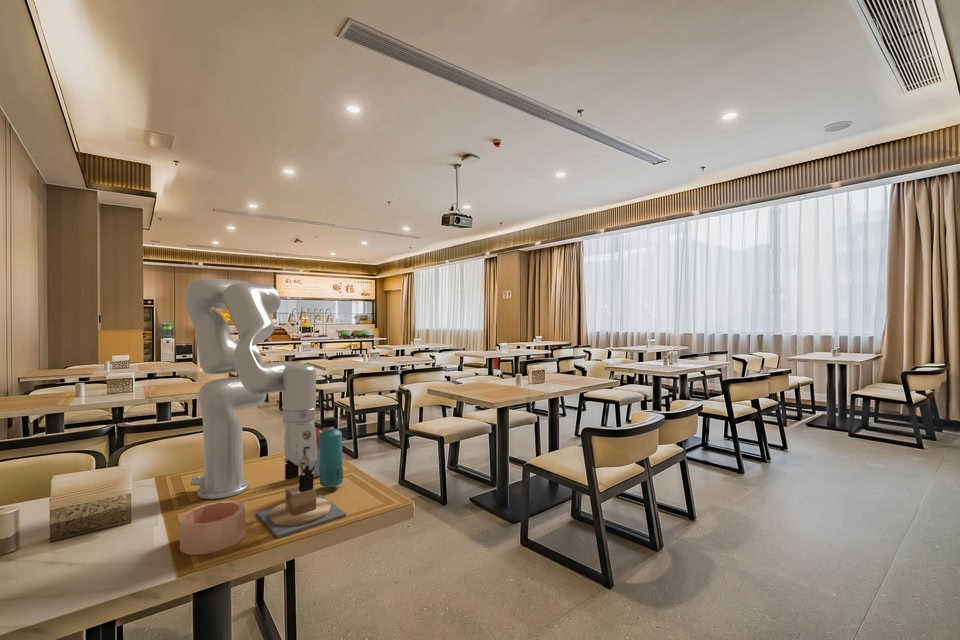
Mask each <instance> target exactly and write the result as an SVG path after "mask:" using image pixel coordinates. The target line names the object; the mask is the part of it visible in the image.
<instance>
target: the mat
mask: <svg viewBox="0 0 960 640" xmlns="http://www.w3.org/2000/svg"><path fill="white" fill-rule="evenodd" d="M316 497H317V498H323V499H326V500H328V499H327V498H326V497H325V496H323V495H321V494H316ZM328 501H329V502H330V503H331V511H330V512H329V514H327V515H326V516H325V517H323V518H322V519H320V520H317V521H315V522H312V523H308V524H304V525H299V526H279V525H275V524H273V523H271V522H270V520H269V513H270V511H271V510H272V509H273V508H274V507H275V506H274V507H270V508H267V509H263V510H260V511H256V516H257V517H258V518H259V520H260V521H261V522H262V523H263V524H264V525H265V526H266V527H267V529H268V530H270V532H271V533H272V534H273V535H274V536H275V538H277V539H280V538H283V537H285V536H289V535H292V534H295V533H298V532H301V531H304V530H307V529H310V528H311V529H312V528H313V527H316V526H317V527H318V526H320V525H323V524H326V523H329V522H332V521H335V520H338V519H342V518H345V517H347V513H346V512H344V510H342V509H341V508H340V507H338V506H337V505H336V504H334V503H333V502H331V501H330V500H328Z"/></svg>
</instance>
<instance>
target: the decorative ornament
mask: <svg viewBox="0 0 960 640" xmlns="http://www.w3.org/2000/svg"><path fill="white" fill-rule="evenodd" d="M326 429H331V427H323V426H322V429H319V428H315V430H316V442H317V461H316V462H315V464H314V466H315V468H314V473H313V478H319V475H320V469H319V468H320V465H319V464H320V463H319V457H320V453H319V434H320V433H321V432H322V431H323V430H326ZM304 461H307V460H304ZM304 461H303V462H304ZM306 466H307V465H304V466H303V468H304V469H305V467H306Z"/></svg>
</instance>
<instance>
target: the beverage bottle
mask: <svg viewBox="0 0 960 640" xmlns="http://www.w3.org/2000/svg"><path fill="white" fill-rule="evenodd" d="M337 426H339V421H338V418H337V417H326V418H323V420H322V428H323V427H330V429H326V430H323V431H322V432H321V433H320V434H319V453H320V457H319V463H320V464H319V465H320V468H319V469H320V475H319V476H318V478H319V484H320V486H321V487H323V488H333V487H334V488H335V487H337V486H340V485H342V484H343V480H344V465H343V458H344V457H343V432H342V431H341V430H340V429H338V428H333V427H337Z"/></svg>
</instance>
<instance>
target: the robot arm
mask: <svg viewBox="0 0 960 640" xmlns="http://www.w3.org/2000/svg"><path fill="white" fill-rule="evenodd" d="M184 302H185V303H184V304H185V309H186V312H187V315H188V317H189V319H190V322H191V323H192V326H193V329H194V334H195V341H196V346H197V347H196V348H197V352H198V360H199V363H200V364H199V365H200V367H201V370H202V371H203V372H204V374H206V375H207V374H208V375H215V376H217V375H224V374H226V375H227V374H234V373H236V374H237V376H231V377H223V378H218V379H216V378H215V379H212V380H209V381H208V382H206V383H204V384H203V385H202V386H201V387H200V389H199V391H198V402H199V407H200V412H201V417H202V427H203V429H202V430H203V431H202V432H203V436H202V437H203V475H193V476H192V477H191V479H190V486H198V487H199V488H198V489H197V496H198V498H201V499H205V500H217V499H224V498H229V497H232V496H233V497H234V496H235V495H236V496H237V495H239V494H241V493H243V492H244V491H246V490H248V489H249V487H250V481H249V480H248V479H246V478H245V479H244V455H243V453H244V450H243V449H244V448H243V447H244V446H243V442H244V440H243V439H244V437H243V433H244V432H243V425H242V422H241V421H240V419H239V418H238V417H237V416H236V414H235V412H236V411H238V410H244V409H249V408H255V407H258V406H260V405H262V404H263V403H264V402H265V400H266V398H267V395H269V394H275V393H280V392H282V424H284V436H283V437H284V439H283V448H284V457H285V458H284V480H286V481H289V480H293V479H297V478H298V485H299V492H305V491H309V490H312V489H313V487H314V477H313V473H314V468H315V466H314V464H315V462H316V461H317V442H316V430H315V429H316V424H315V422H316V416H317V415H316V414H317V413H316V410H317V409H316V408H317V407H316V406H317V404H316V403H317V394H316V393H317V369H316V367H315V366H314V365H312V364H305V363H304V364H300V363H299V362H296V361H291V360H290V361H289V360H288V361H279V362H278V361H275V362H265V363H263V359H262V355H261V350H260V349H259V347H258V344H260V343H262V342H263V341H265V340H267V339H268V338H270V337H271V335H273V333H274V331H275V324H274V322H273V321H272V319H271V317H270V315H269V314H274V313H276V312H277V311H278V310H279V308H280V306H281V297H280V293H279V292H278V290H277V289H276V288H275V287H273V286H272V285H270V284H265V283H259V282H255V281H248V280H241V279H228V278H215V277H214V278H213V277H206V278H205V277H204V278H198V279H195V280H193V281H191V282H190V283H188V285H187V287H186V289H185V294H184ZM217 309H226V310H227V312H228V313H229V317H230V318H231V320H232V322H233V323H232V324H234V326H235V328H236V330H237V333H238V334H239V337H240V339H235V340H234V339H233V338H232V336H231V331H230V326H229V323H228V322H227V320H226V319H225V317H224V316H223V315H222V314H221V313H219V312H218V311H217ZM304 460H307V461H304ZM304 465H307V466H306V467H305V469H304ZM299 473H300V475H299Z"/></svg>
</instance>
